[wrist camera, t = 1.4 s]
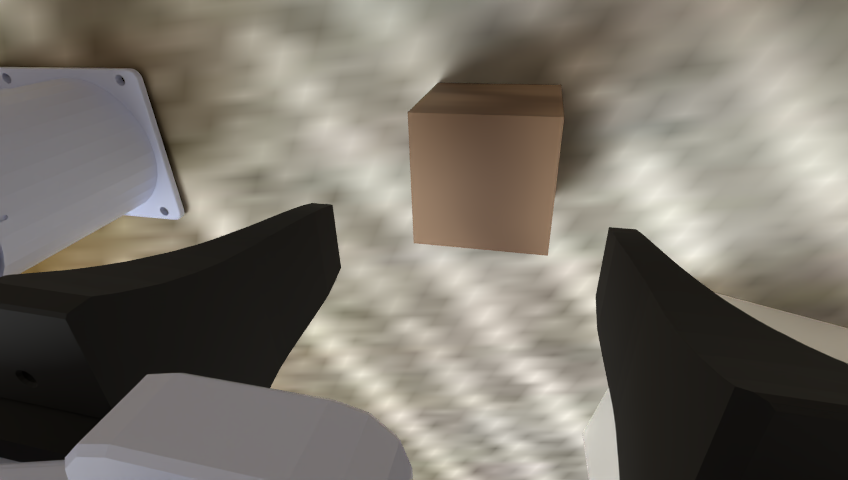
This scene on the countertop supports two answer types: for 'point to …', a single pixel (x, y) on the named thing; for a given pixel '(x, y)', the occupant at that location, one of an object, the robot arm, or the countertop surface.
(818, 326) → the milk
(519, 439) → the countertop surface
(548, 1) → the countertop surface
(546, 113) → the walnut cube
